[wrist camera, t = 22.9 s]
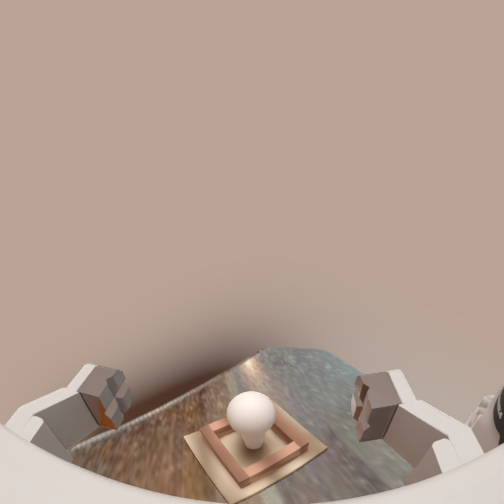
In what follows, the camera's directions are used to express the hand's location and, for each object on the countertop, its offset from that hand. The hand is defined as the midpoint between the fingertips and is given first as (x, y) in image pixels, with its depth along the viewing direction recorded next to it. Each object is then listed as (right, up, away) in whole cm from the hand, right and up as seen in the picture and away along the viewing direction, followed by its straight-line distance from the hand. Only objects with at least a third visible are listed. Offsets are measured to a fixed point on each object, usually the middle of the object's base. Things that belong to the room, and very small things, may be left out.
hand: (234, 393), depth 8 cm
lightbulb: (+1, -23, +25) cm, 34 cm away
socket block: (+1, -24, +25) cm, 34 cm away
